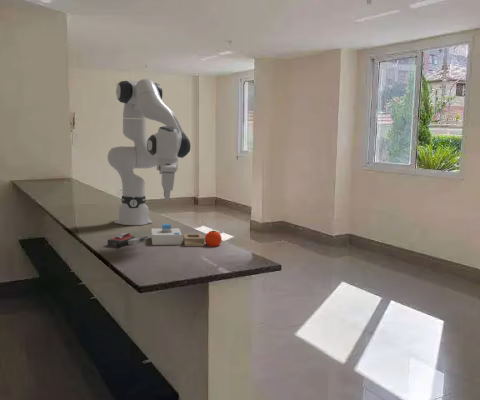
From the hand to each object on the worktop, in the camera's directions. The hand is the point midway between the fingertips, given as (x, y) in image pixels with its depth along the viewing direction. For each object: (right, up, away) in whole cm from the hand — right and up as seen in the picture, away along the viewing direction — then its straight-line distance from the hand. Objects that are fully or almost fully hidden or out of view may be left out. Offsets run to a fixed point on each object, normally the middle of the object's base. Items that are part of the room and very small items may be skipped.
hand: (166, 198), depth 207 cm
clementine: (+20, -20, -2) cm, 28 cm away
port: (-1, -19, +2) cm, 19 cm away
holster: (+11, -20, 0) cm, 23 cm away
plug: (0, -18, +2) cm, 18 cm away
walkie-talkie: (-16, -19, +1) cm, 25 cm away
